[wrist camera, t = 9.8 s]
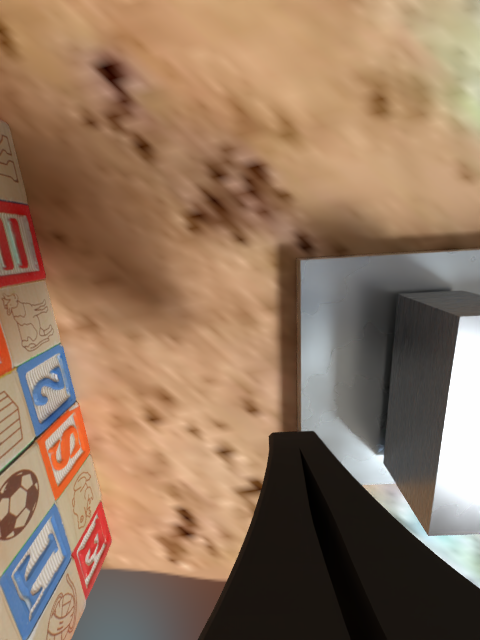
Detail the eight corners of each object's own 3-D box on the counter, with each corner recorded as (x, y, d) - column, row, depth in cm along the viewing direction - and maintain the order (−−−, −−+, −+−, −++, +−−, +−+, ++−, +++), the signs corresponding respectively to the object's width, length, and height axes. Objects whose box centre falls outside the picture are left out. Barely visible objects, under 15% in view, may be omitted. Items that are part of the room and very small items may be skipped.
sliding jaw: (462, 290, 12) (551, 312, 8) (437, 461, 14) (500, 533, 10) (397, 294, 12) (460, 316, 8) (383, 463, 14) (428, 535, 10)
